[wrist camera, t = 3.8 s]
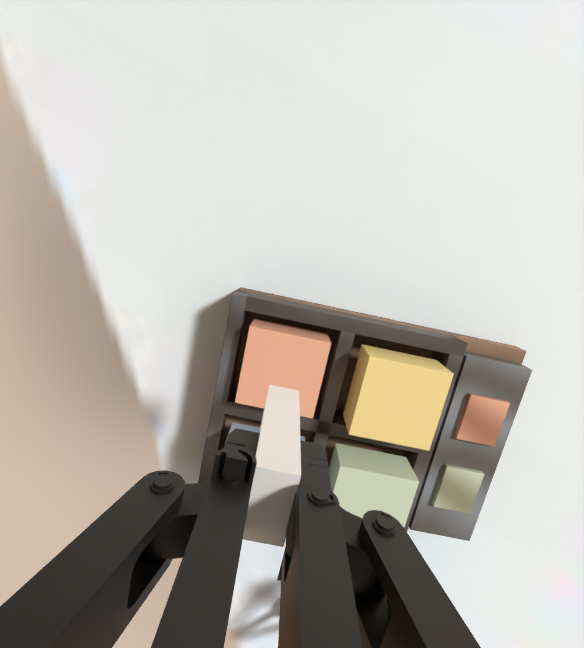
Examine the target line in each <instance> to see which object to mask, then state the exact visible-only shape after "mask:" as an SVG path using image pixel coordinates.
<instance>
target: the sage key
mask: <svg viewBox="0 0 584 648" xmlns="http://www.w3.org/2000/svg"><path fill="white" fill-rule="evenodd" d="M329 476H330V483H331V490H332V492H333V493H334V494H335V495H336V496H337V498H338V501H339V505H340V507H342V508H343V509H344V510H346V511H348V512H350V513H352V514H354V515H356V516H358V517H361V518H363V515H364V514H365V513H366V512H367V511H371V510H378V511H383V512H385V513H388V514H390V515H391V516H393V517H394V518H395V519H397V520H398V521H399V522H400V524H401V525H402V526H403V527H405V524H406V521H407V518H408V515H409V512H410V509H411V506H412V503H413V499H414V496H415V493H416V490H417V487H418V484H419V480H418V478H417V476H416V475H415V473H414V471H413V469H412V467H411V465H410V463H409V462H408V460H407V458H406V457H403V456H398V455H393V454H388V453H383V452H378V451H373V450H368V449H363V448H358V447H353V446H348V445H343V444H338V443H335V447H334V450H333V454H332V458H331V462H330V466H329Z"/></svg>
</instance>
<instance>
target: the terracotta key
mask: <svg viewBox="0 0 584 648" xmlns="http://www.w3.org/2000/svg"><path fill="white" fill-rule="evenodd" d="M330 347H331V341H330V338H329V336H328V333H325V332H320V331H315V330H310V329H306V328H301V327H296V326H291V325H287V324H282V323H277V322H273V321H268V320H263V319H258V318H254V320H253V321H252V323H251V325H250V327H249V332H248V338H247V343H246V348H245V353H244V358H243V363H242V368H241V373H240V378H239V384H238V389H237V394H236V399H235V403H239V404H244V405H249V406H254V407H259V408H264V407H265V402H266V397H267V393H268V388H269V385H274V386H279V387H284V388H289V389H294V390H299V401H300V416H303V417H308V418H313V416H314V412H315V408H316V404H317V400H318V396H319V392H320V388H321V384H322V379H323V375H324V371H325V367H326V363H327V359H328V355H329V351H330Z"/></svg>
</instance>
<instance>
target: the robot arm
mask: <svg viewBox="0 0 584 648" xmlns="http://www.w3.org/2000/svg"><path fill="white" fill-rule="evenodd" d="M285 538H286V548H285V552H284V556H283V560H282V563H281V567H280V571H279V575H278V579H277V580H280V581H281V598H280V620H279V642H278V648H481V647H480V646H479V644H478V643H477V641H476V640H475V638H474V637H473V635H472V633H471V632H470V630H469V629H468V627H467V626H466V624H465V623H464V621H463V619H462V618H461V616H460V615H459V613H458V612H457V610H456V608H455V607H454V605H453V604H452V602H451V601H450V599H449V598H448V596H447V594H446V593H445V591H444V590H443V588H442V587H441V585H440V583H439V582H438V580H437V579H436V577H435V576H434V574H433V573H432V571H431V569H430V568H429V566H428V565H427V563H426V562H425V560H424V559H423V557H422V555H421V554H420V552H419V551H418V549H417V548H416V546H415V544H414V543H413V541H412V540H411V538H410V537H409V535H408V534H407V532H406V530H405V529H404V527H403V526H402V525H401V524H400V522H399V521H398V520H397V519H395V518H394V517H393V516H391V515H390V514H388V513H385V512H383V511H378V510H371V511H367V512H366V513H365V514H364V515H363V518H361V517H358V516H356V515H354V514H352V513H350V512H348V511H346V510H344V509H343V508H342V507H340V505H339V501H338V498H337V496H336V495H335V494H334V493H333V492H332V490H331V483H330V476H329V469H328V462H327V455H326V451H325V450H324V449H323V447H322V446H321V445H320V444H317V443H312V442H307V441H302V440H300V401H299V390H294V389H289V388H284V387H279V386H274V385H269V388H268V393H267V397H266V402H265V407H264V411H263V416H262V421H261V425H260V430H259V433H257V432H252V431H247V430H242V429H237V428H236V429H234V430H233V431H232V432H230V433H229V435H228V437H227V440H226V443H225V446H224V448H223V449H221V450H219V451H218V452H217V453H216V455H215V460H214V465H213V470H212V476H211V478H210V479H208V480H207V481H205V482H201V483H197V484H185V482H184V480H183V478H182V477H181V476H180V475H178V474H176V473H175V472H170V471H156V472H152V473H149V474H147V475H146V476H144V477H143V478H142V479H141V480H139V481H138V482H137V483H136V484H135V485H134V486H133V487H132V488H131V489H130V490H129V491H127V492H126V493H125V494H124V495H123V496H122V497H121V498H120V499H119V500H117V501H116V502H115V503H114V504H113V505H112V506H111V507H110V508H109V509H108V510H106V511H105V512H104V513H103V514H102V515H101V516H100V517H99V518H98V519H97V520H95V521H94V522H93V523H92V524H91V525H90V526H89V527H88V528H87V529H85V530H84V531H83V532H82V533H81V534H80V535H79V536H78V537H77V538H76V539H74V540H73V542H71V543H70V544H69V545H68V546H67V547H66V548H65V549H64V550H62V551H61V552H60V553H59V554H58V555H57V556H56V557H55V558H53V559H52V560H51V561H50V562H49V563H48V564H47V565H46V566H45V567H43V569H41V570H40V571H39V572H38V573H37V574H36V575H35V576H34V577H33V578H31V579H30V580H29V581H28V582H27V583H26V584H25V585H24V586H23V587H21V588H20V589H19V590H18V591H17V592H16V593H15V594H14V595H13V596H12V597H10V598H9V599H8V600H7V601H6V602H5V603H4V604H3V605H2V606H0V648H112V647H113V645H114V644H115V642H116V641H117V639H118V638H119V637H120V635H121V634H122V632H123V631H124V629H125V628H126V627H127V625H128V624H129V622H130V621H131V620H132V618H133V617H134V615H135V614H136V612H137V611H138V610H139V608H140V607H141V605H142V604H143V602H144V601H145V600H146V598H147V597H148V595H149V594H150V592H151V591H152V590H153V588H154V587H155V585H156V583H157V582H158V581H159V579H160V578H161V577H162V575H163V574H164V572H165V571H166V569H167V568H168V567H169V565H170V563H171V561H172V559H174V558H183V559H182V562H181V564H180V567H179V570H178V573H177V576H176V578H175V581H174V584H173V587H172V590H171V593H170V595H169V599H168V601H167V604H166V607H165V610H164V612H163V615H162V618H161V621H160V624H159V627H158V629H157V632H156V635H155V638H154V641H153V644H152V646H151V648H223V647H224V641H225V636H226V630H227V625H228V619H229V613H230V608H231V602H232V596H233V591H234V585H235V579H236V573H237V568H238V562H239V556H240V551H241V545H242V539H244V540H249V541H255V542H260V543H265V544H271V545H276V546H281V547H283V546H284V542H285Z"/></svg>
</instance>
